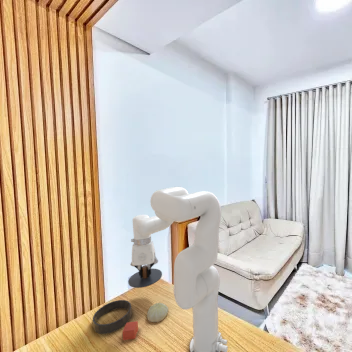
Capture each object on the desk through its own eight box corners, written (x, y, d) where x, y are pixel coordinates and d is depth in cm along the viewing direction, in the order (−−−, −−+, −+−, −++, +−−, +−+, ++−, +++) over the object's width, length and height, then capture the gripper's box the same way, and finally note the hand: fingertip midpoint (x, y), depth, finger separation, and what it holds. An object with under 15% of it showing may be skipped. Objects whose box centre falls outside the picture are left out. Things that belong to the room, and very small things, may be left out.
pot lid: (168, 273, 107) (167, 261, 106) (145, 292, 92) (144, 278, 92) (145, 268, 112) (144, 256, 112) (120, 285, 98) (119, 272, 97)
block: (138, 330, 87) (137, 321, 86) (134, 339, 82) (134, 329, 82) (127, 332, 86) (126, 322, 86) (123, 341, 82) (122, 331, 81)
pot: (138, 313, 96) (138, 304, 96) (110, 339, 83) (109, 329, 82) (116, 305, 101) (115, 297, 101) (85, 329, 88) (84, 319, 87)
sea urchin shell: (163, 301, 101) (166, 296, 96) (168, 318, 98) (172, 314, 93) (143, 310, 96) (146, 305, 91) (148, 328, 92) (151, 325, 87)
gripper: (122, 245, 95) (125, 282, 97) (158, 242, 98) (160, 278, 100) (127, 238, 103) (130, 273, 105) (161, 236, 105) (163, 270, 107)
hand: (145, 275), depth 102 cm, fingers closed on pot lid, 2 cm apart
